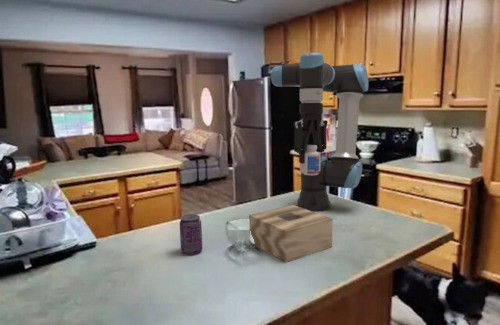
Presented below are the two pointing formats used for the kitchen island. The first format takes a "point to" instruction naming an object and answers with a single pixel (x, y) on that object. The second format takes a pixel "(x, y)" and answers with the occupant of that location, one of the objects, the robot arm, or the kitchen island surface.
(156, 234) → the kitchen island surface
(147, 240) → the kitchen island surface
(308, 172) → the pill bottle
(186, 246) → the beverage can
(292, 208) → the socket block
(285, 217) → the thin gray tile
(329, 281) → the kitchen island surface
